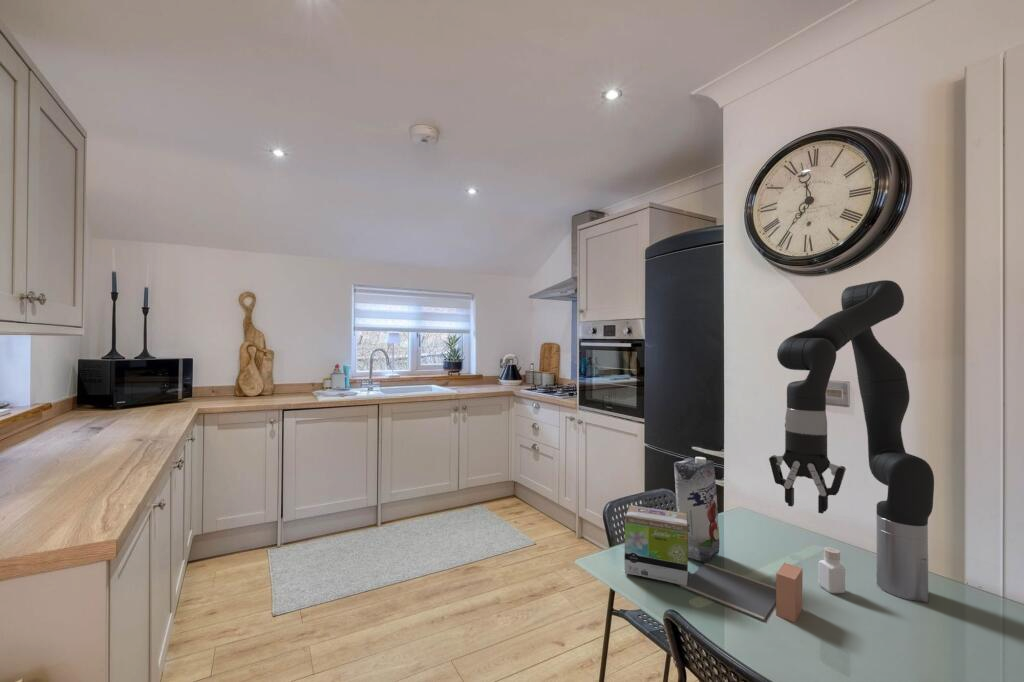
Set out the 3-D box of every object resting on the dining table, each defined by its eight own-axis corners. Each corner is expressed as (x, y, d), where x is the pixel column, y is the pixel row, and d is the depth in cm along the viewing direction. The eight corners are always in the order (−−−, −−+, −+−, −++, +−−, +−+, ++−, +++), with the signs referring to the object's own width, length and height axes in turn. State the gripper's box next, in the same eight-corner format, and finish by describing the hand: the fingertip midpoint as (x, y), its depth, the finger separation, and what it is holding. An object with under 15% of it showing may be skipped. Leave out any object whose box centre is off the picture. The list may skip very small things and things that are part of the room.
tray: (782, 592, 102) (782, 589, 102) (763, 621, 91) (763, 619, 91) (705, 564, 115) (705, 562, 115) (679, 587, 103) (679, 585, 103)
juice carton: (675, 555, 119) (669, 457, 121) (692, 544, 126) (686, 452, 128) (707, 565, 113) (700, 461, 115) (723, 553, 120) (717, 455, 122)
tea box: (623, 575, 108) (623, 515, 109) (628, 558, 117) (628, 503, 118) (688, 587, 102) (687, 524, 103) (687, 569, 111) (687, 511, 112)
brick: (802, 609, 95) (802, 568, 96) (795, 622, 90) (795, 579, 91) (784, 602, 98) (784, 562, 98) (776, 615, 93) (776, 573, 93)
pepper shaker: (846, 594, 101) (846, 553, 102) (830, 594, 101) (830, 554, 101) (832, 584, 105) (832, 546, 106) (817, 585, 105) (817, 546, 105)
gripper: (850, 432, 90) (850, 513, 90) (772, 423, 101) (772, 496, 100) (844, 437, 85) (844, 523, 85) (763, 427, 95) (763, 504, 95)
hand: (805, 508), depth 92 cm, fingers open, 5 cm apart
